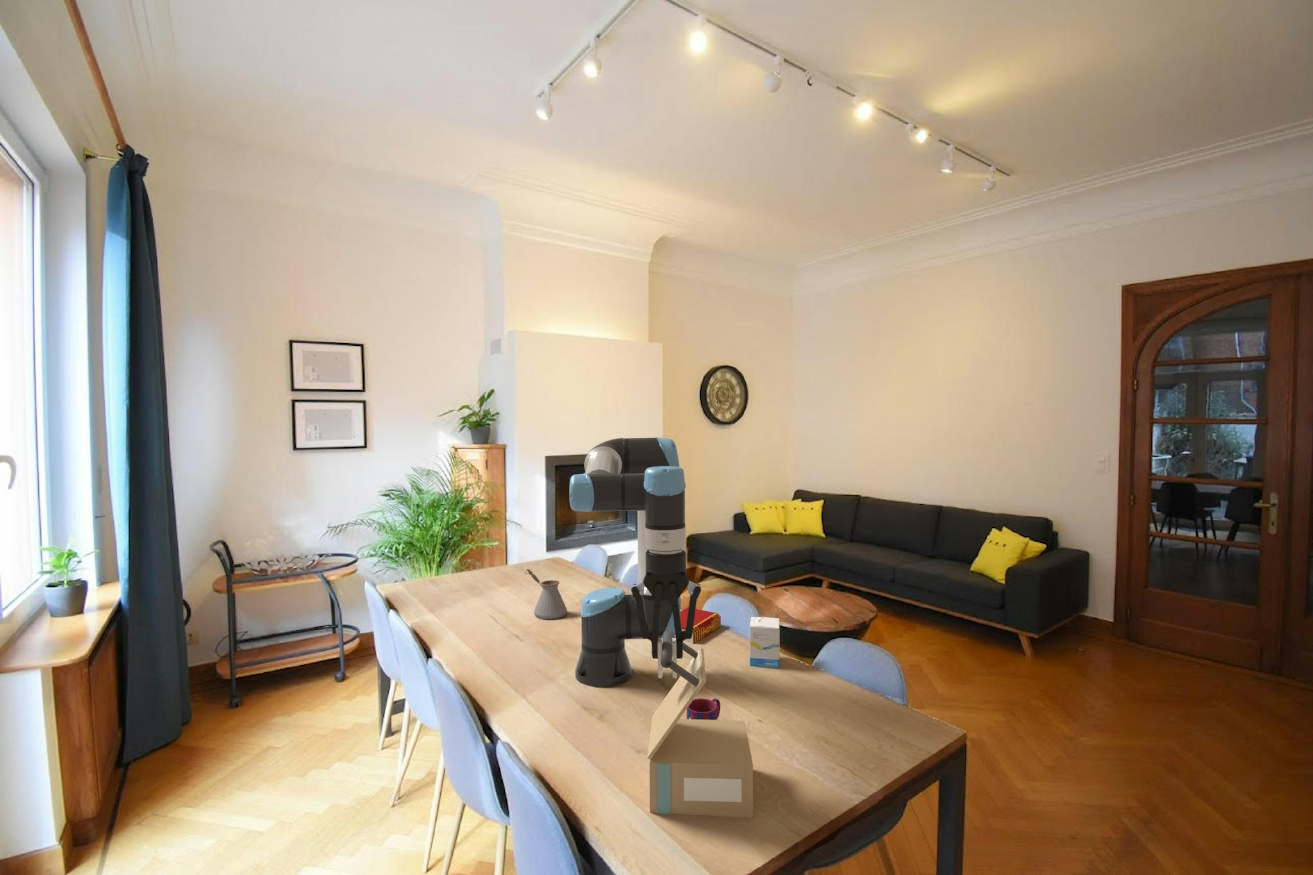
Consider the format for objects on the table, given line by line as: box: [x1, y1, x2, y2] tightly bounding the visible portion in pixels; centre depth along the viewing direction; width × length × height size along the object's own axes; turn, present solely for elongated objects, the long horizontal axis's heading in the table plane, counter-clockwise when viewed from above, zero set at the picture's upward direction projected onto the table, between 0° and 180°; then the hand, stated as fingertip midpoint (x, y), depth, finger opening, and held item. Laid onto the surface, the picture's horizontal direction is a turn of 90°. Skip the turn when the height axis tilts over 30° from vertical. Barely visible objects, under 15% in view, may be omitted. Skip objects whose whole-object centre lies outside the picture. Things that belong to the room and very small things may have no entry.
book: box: [675, 606, 722, 644], centre depth 192 cm, size 18×13×5 cm
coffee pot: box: [524, 568, 568, 621], centre depth 209 cm, size 21×12×15 cm, turn 43°
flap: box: [646, 630, 707, 761], centre depth 109 cm, size 17×14×8 cm
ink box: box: [749, 616, 781, 669], centre depth 168 cm, size 9×8×12 cm
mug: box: [686, 697, 721, 720], centre depth 130 cm, size 7×10×7 cm
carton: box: [649, 718, 754, 819], centre depth 109 cm, size 18×15×10 cm
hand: (667, 674), depth 109 cm, fingers closed on flap, 2 cm apart
